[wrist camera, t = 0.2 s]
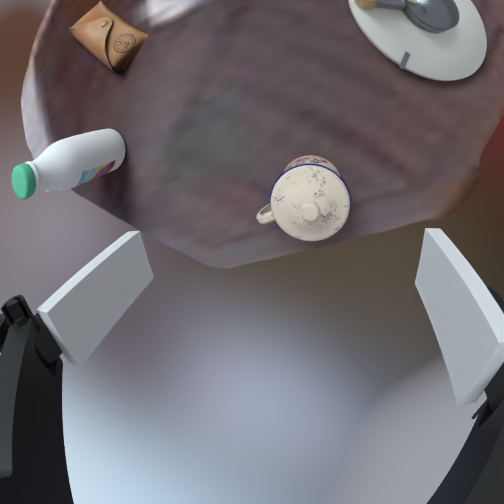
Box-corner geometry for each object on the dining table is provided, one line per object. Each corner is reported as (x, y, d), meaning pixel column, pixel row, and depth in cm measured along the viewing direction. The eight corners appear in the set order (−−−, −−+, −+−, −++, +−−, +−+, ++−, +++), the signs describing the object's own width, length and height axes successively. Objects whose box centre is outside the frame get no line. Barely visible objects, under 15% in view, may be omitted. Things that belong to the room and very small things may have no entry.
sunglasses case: (152, 33, 30) (117, 45, 26) (141, 64, 36) (110, 78, 32) (99, -2, 26) (68, 8, 23) (93, 26, 32) (65, 37, 29)
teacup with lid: (326, 142, 34) (332, 154, 24) (353, 201, 37) (366, 235, 27) (250, 178, 39) (225, 203, 29) (279, 231, 42) (265, 272, 32)
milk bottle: (95, 128, 39) (3, 154, 22) (127, 127, 38) (29, 153, 21) (95, 169, 43) (10, 208, 26) (127, 171, 42) (37, 215, 25)
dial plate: (331, -48, 18) (332, -53, 17) (460, -25, 13) (464, -28, 11) (362, 74, 28) (365, 72, 27) (492, 92, 22) (497, 92, 21)
